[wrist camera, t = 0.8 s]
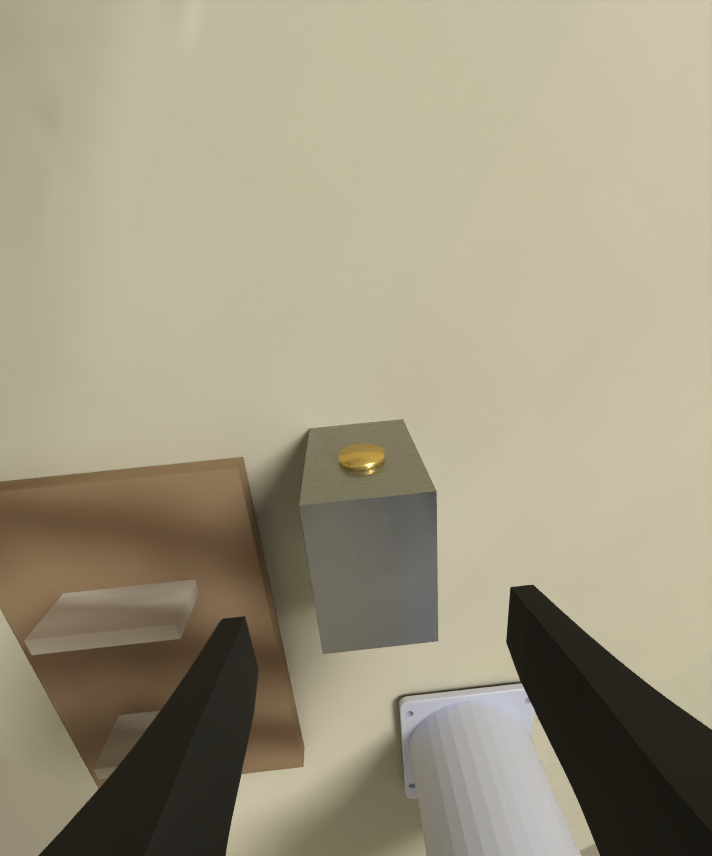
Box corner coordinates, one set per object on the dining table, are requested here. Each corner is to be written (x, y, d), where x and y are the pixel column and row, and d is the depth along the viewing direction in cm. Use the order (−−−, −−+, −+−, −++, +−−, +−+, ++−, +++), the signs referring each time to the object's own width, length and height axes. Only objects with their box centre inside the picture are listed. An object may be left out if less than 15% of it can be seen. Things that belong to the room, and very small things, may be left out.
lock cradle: (304, 748, 25) (300, 820, 22) (108, 770, 25) (74, 847, 21) (243, 457, 17) (222, 500, 14) (-39, 485, 17) (-126, 536, 14)
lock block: (407, 534, 20) (438, 640, 14) (325, 543, 19) (322, 654, 14) (402, 413, 17) (436, 483, 12) (308, 422, 17) (297, 498, 12)
